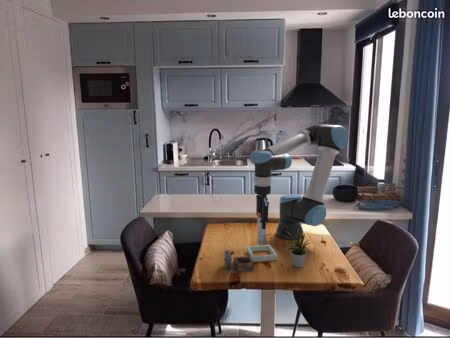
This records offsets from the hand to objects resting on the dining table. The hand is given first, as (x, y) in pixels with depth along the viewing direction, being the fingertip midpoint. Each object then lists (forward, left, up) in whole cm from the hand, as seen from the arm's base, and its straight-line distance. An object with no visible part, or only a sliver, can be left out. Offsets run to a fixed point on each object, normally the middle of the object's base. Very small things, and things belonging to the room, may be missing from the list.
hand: (261, 232), depth 160 cm
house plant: (-15, +8, -13) cm, 21 cm away
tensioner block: (+13, +9, -13) cm, 21 cm away
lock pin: (0, 0, -5) cm, 5 cm away
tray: (0, 0, -13) cm, 13 cm away
